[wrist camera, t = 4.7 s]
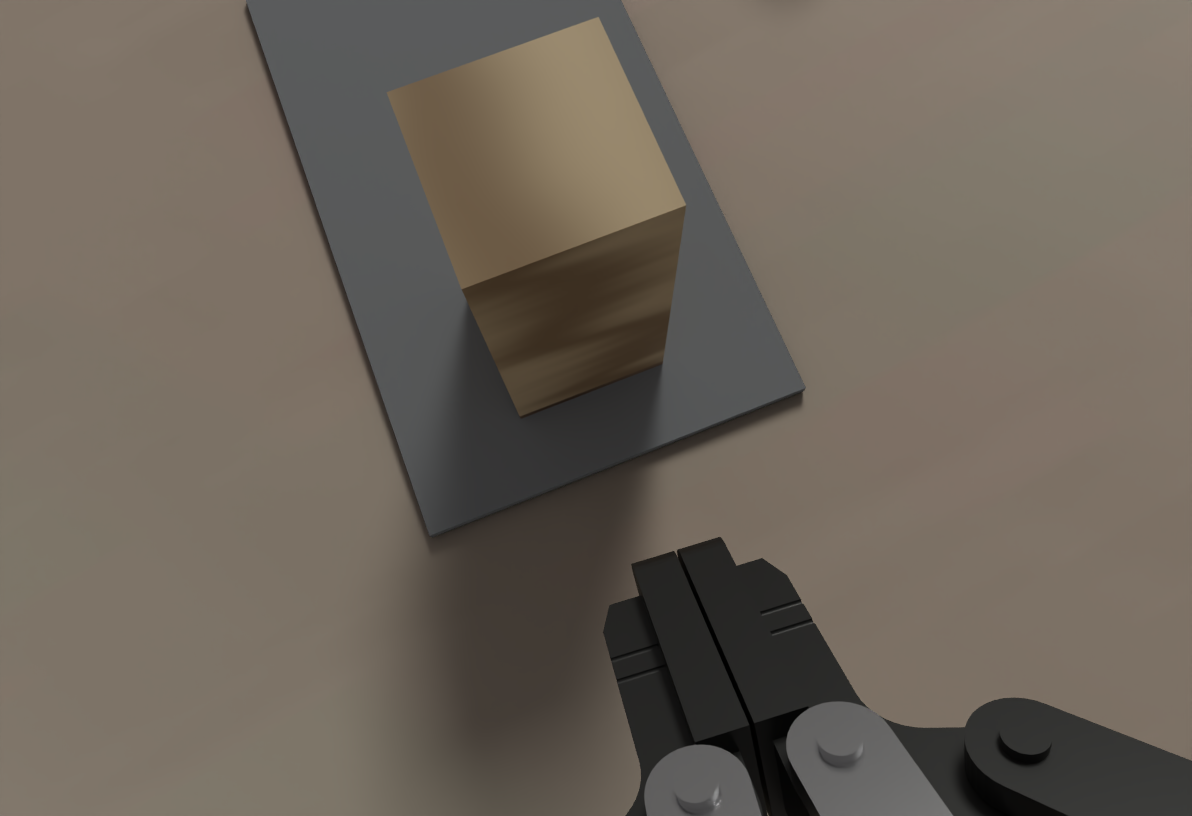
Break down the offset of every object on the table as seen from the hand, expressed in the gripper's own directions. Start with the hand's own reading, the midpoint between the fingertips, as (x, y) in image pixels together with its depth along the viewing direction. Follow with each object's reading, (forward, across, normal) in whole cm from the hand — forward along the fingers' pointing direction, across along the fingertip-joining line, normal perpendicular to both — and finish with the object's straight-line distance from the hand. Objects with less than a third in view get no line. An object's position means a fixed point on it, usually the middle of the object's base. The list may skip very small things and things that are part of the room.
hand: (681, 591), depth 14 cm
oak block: (+16, 0, +2) cm, 17 cm away
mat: (+21, 0, -2) cm, 21 cm away
